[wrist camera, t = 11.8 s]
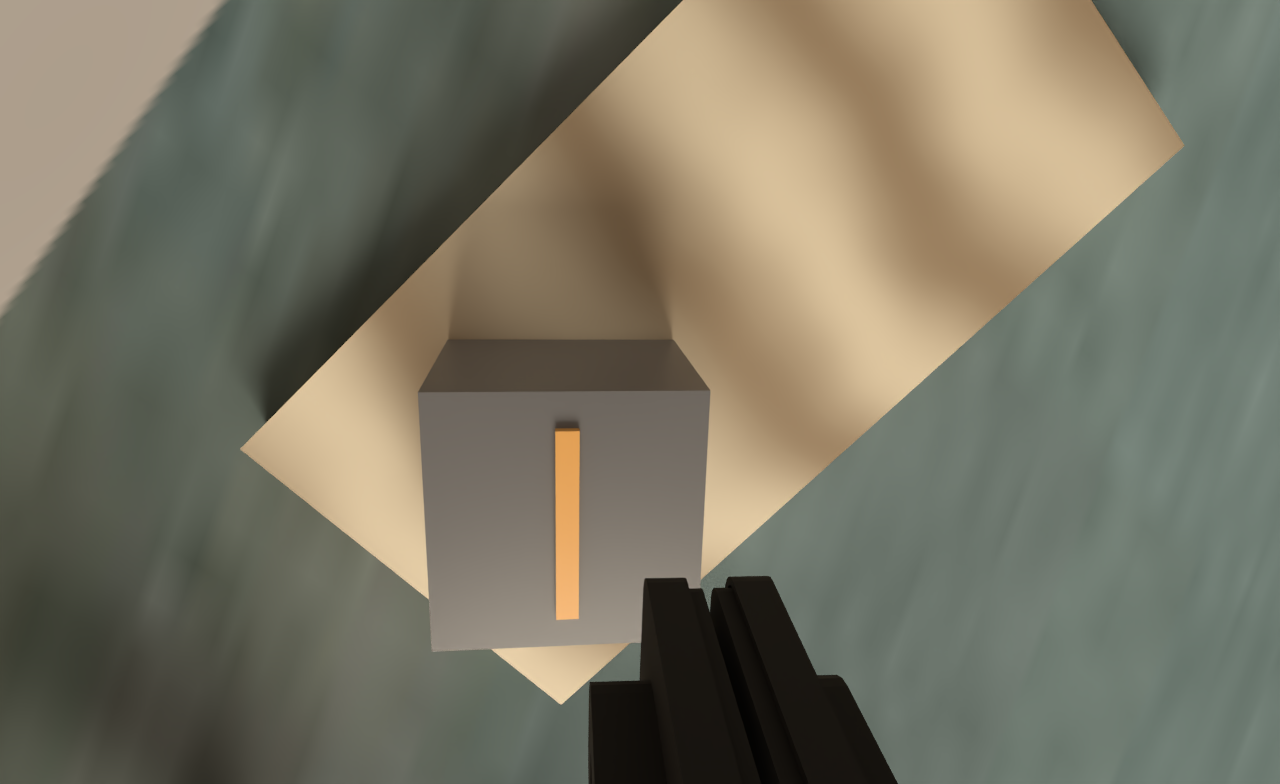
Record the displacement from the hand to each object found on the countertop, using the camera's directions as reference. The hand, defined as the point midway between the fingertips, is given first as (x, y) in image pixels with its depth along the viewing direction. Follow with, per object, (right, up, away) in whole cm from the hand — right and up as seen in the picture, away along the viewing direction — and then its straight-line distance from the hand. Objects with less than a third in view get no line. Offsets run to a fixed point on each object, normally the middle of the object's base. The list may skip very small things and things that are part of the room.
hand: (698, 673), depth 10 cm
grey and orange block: (-3, +2, +11) cm, 12 cm away
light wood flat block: (+1, +7, +13) cm, 14 cm away
